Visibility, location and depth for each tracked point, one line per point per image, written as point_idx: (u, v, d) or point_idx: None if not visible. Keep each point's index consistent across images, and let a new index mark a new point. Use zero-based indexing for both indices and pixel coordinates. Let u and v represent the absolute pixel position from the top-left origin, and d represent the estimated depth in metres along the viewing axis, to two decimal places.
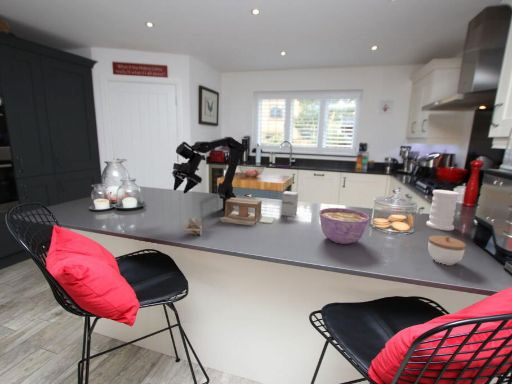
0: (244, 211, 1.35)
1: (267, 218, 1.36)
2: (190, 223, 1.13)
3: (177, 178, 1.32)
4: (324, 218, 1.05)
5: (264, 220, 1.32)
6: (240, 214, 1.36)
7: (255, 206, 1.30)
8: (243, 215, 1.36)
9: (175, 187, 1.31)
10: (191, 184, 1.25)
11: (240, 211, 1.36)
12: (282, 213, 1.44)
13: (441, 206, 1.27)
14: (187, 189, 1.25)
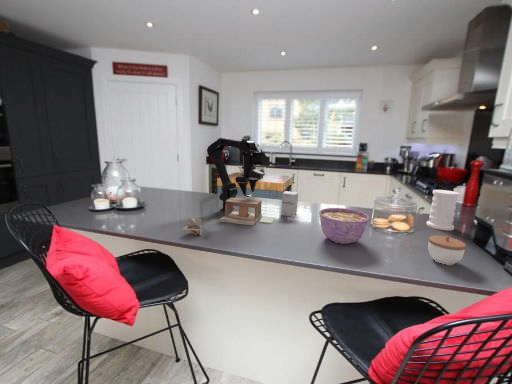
0: (244, 211, 1.35)
1: (267, 218, 1.36)
2: (190, 223, 1.13)
3: None
4: (324, 218, 1.05)
5: (264, 220, 1.32)
6: (240, 214, 1.36)
7: (255, 206, 1.30)
8: (243, 215, 1.36)
9: None
10: None
11: (240, 211, 1.36)
12: (282, 213, 1.44)
13: (441, 206, 1.27)
14: None
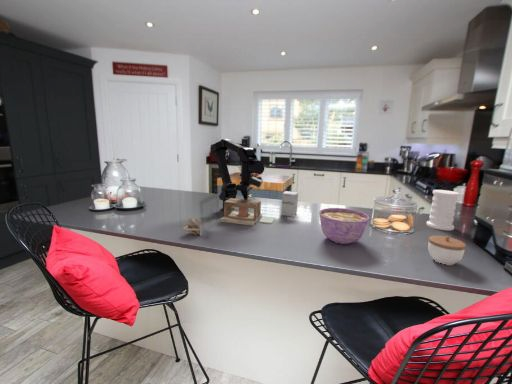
0: (244, 211, 1.35)
1: (267, 218, 1.36)
2: (190, 223, 1.13)
3: None
4: (324, 218, 1.05)
5: (264, 220, 1.32)
6: (240, 214, 1.36)
7: (254, 207, 1.29)
8: (243, 215, 1.36)
9: None
10: None
11: (240, 211, 1.36)
12: (282, 213, 1.44)
13: (441, 206, 1.27)
14: None
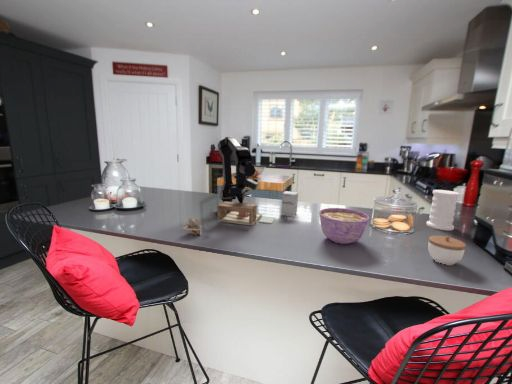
0: None
1: (267, 218, 1.36)
2: (190, 223, 1.13)
3: None
4: (324, 218, 1.05)
5: (264, 220, 1.32)
6: (240, 214, 1.36)
7: (249, 211, 1.21)
8: (243, 215, 1.36)
9: None
10: None
11: None
12: (282, 213, 1.44)
13: (441, 206, 1.27)
14: None
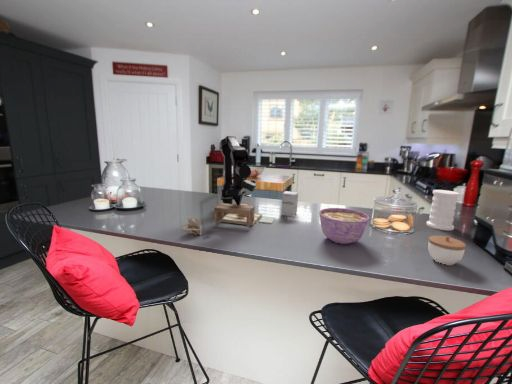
0: None
1: (267, 218, 1.36)
2: (190, 223, 1.13)
3: None
4: (324, 218, 1.05)
5: (264, 220, 1.32)
6: None
7: (247, 213, 1.18)
8: (243, 215, 1.36)
9: None
10: None
11: None
12: (282, 213, 1.44)
13: (441, 206, 1.27)
14: None
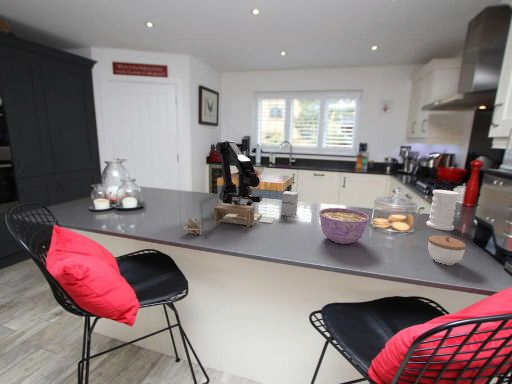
0: None
1: (267, 218, 1.36)
2: (190, 223, 1.13)
3: None
4: (324, 218, 1.05)
5: (264, 220, 1.32)
6: None
7: (247, 213, 1.17)
8: (243, 215, 1.36)
9: None
10: None
11: None
12: (282, 213, 1.44)
13: (441, 206, 1.27)
14: None
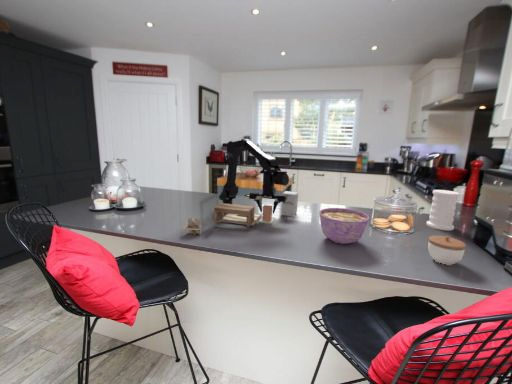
0: (268, 212, 1.31)
1: None
2: (189, 223, 1.13)
3: None
4: (324, 218, 1.05)
5: (264, 220, 1.32)
6: (264, 215, 1.32)
7: (247, 213, 1.17)
8: (267, 217, 1.32)
9: None
10: None
11: (264, 212, 1.32)
12: (282, 213, 1.44)
13: (441, 206, 1.27)
14: None
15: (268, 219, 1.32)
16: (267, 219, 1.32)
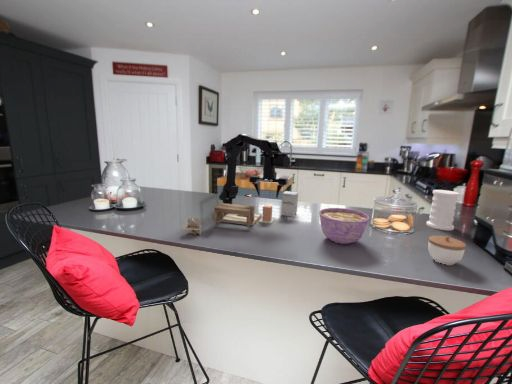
0: (268, 212, 1.31)
1: None
2: (189, 223, 1.13)
3: None
4: (324, 218, 1.05)
5: (264, 220, 1.32)
6: (264, 215, 1.32)
7: (247, 213, 1.17)
8: (267, 217, 1.32)
9: None
10: None
11: (264, 212, 1.32)
12: (282, 213, 1.44)
13: (441, 206, 1.27)
14: None
15: (268, 219, 1.32)
16: (267, 219, 1.32)
